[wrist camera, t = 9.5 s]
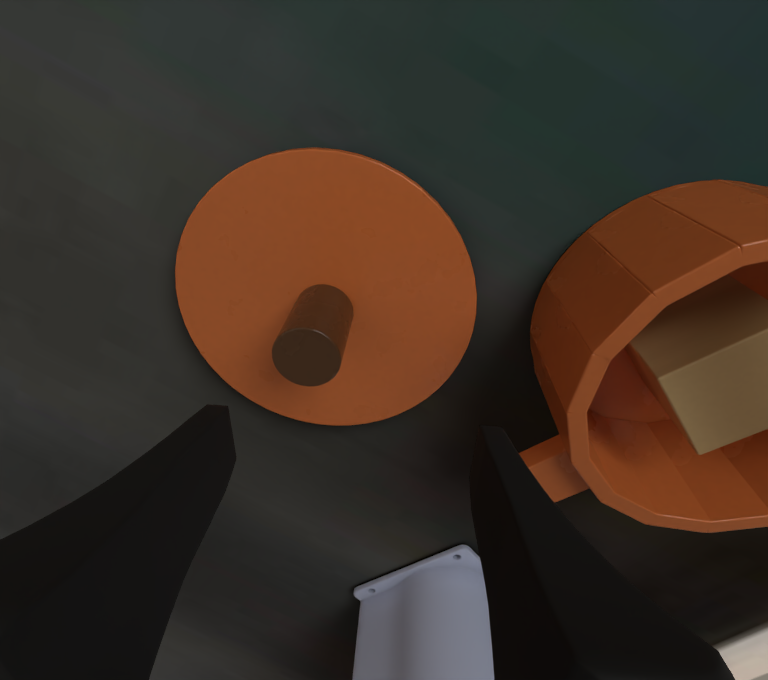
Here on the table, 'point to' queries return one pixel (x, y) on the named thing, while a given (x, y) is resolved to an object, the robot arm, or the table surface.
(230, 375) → the lid
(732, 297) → the block
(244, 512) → the table surface
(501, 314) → the table surface
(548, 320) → the pot
